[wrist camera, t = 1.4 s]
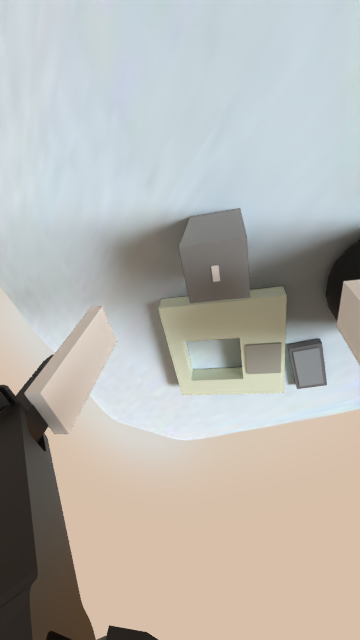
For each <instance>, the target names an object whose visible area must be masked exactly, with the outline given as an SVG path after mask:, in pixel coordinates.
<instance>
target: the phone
mask: <svg viewBox="0 0 360 640" xmlns="http://www.w3.org/2000/svg"><path fill="white" fill-rule="evenodd" d="M288 349H289V354H290V359H291V364H292V369H293V373H294V378H295V383H296V387H297V389H301V388H308V387H316V386H323V385H327V382H326V373H325V365H324V357H323V348H322V342H321V340H320V339H315V340H310V341H304V342H299V343H294V344H288Z"/></svg>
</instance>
